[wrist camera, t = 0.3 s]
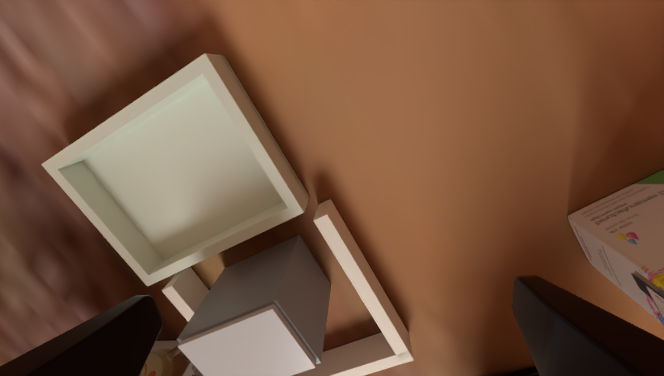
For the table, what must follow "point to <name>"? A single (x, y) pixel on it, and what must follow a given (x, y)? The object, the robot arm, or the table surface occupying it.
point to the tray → (181, 172)
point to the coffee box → (168, 361)
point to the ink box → (628, 240)
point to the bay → (377, 350)
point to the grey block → (262, 316)
